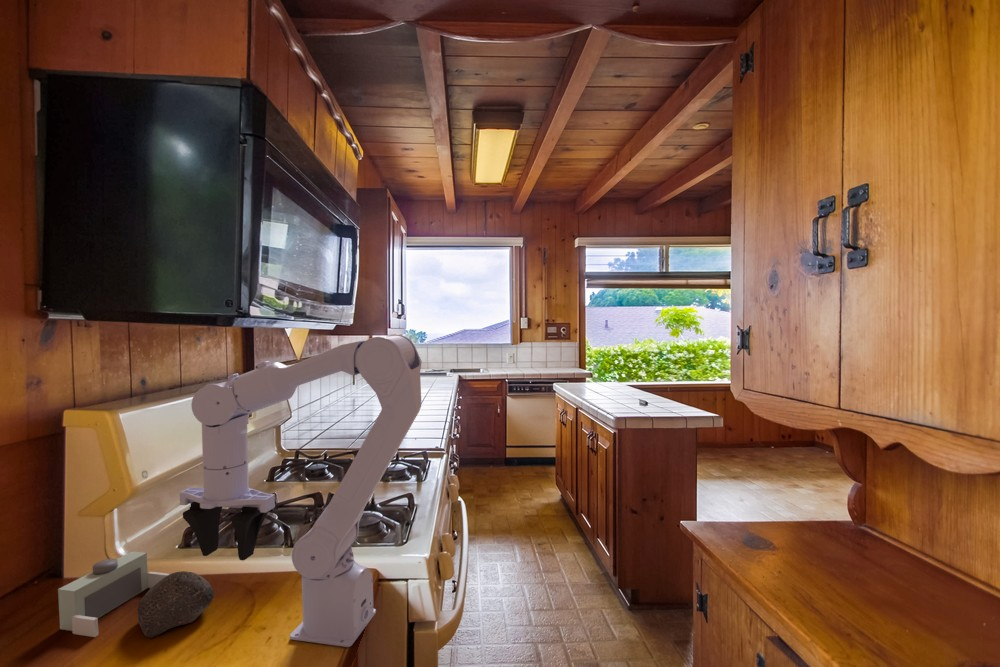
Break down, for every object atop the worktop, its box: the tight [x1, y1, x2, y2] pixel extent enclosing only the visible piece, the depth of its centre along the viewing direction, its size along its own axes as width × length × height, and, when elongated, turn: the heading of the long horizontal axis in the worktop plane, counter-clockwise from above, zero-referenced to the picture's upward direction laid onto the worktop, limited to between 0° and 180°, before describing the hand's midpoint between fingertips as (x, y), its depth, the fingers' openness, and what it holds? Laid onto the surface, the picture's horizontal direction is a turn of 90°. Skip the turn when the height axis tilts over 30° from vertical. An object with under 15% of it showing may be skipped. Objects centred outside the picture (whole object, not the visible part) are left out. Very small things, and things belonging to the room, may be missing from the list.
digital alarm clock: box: [57, 551, 171, 638], centre depth 74 cm, size 7×12×7 cm, turn 168°
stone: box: [136, 571, 216, 639], centre depth 71 cm, size 10×8×10 cm
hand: (228, 554), depth 69 cm, fingers open, 6 cm apart
